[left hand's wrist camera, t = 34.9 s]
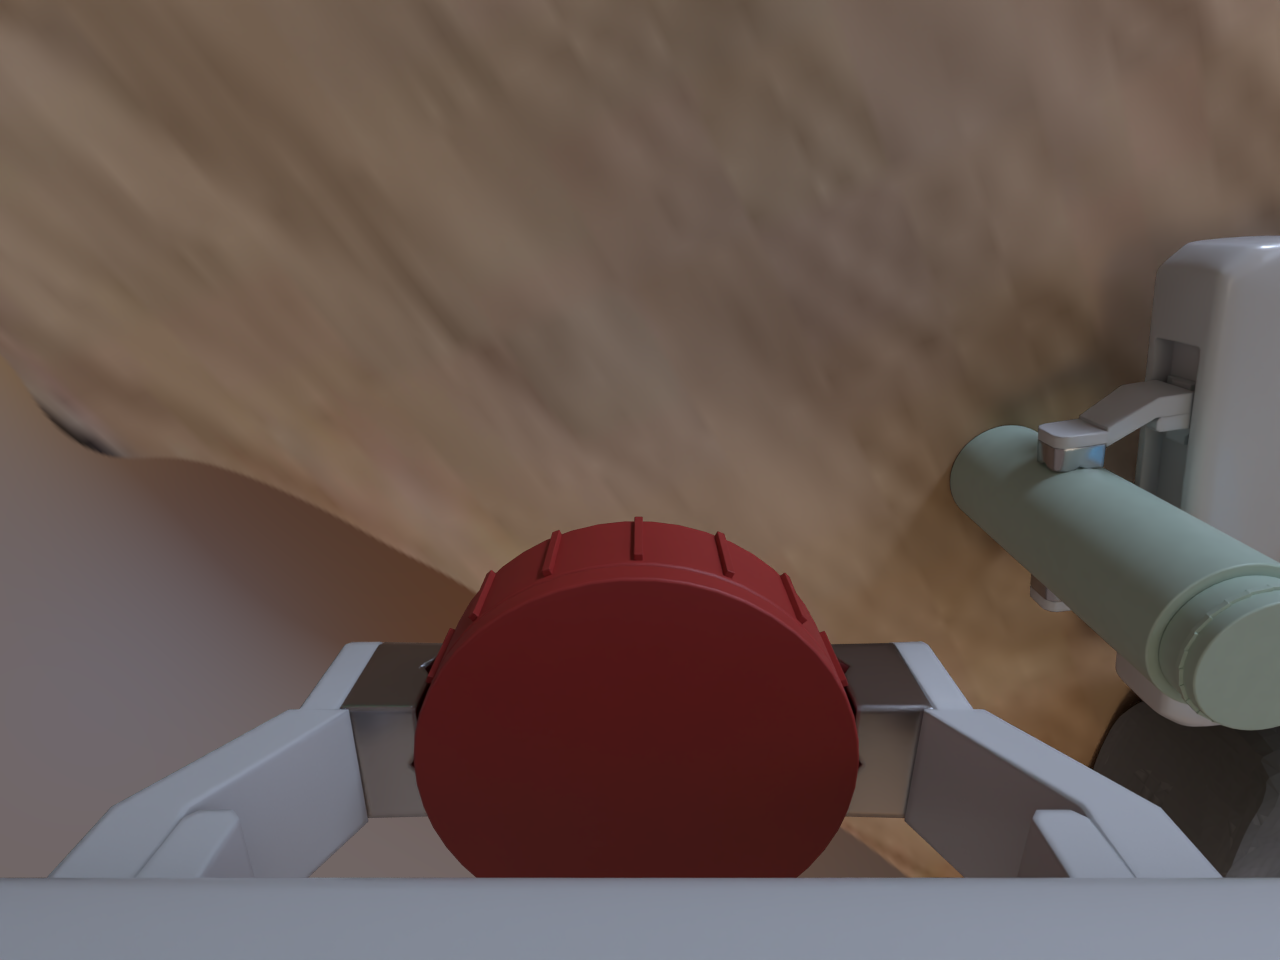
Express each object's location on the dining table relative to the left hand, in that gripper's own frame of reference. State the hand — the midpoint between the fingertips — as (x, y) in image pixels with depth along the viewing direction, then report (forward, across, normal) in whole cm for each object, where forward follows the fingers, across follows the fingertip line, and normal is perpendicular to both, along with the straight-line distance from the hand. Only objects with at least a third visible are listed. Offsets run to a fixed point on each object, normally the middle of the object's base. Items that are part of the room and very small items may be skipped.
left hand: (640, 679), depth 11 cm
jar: (+22, +17, -5) cm, 29 cm away
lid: (-2, 0, 0) cm, 2 cm away
